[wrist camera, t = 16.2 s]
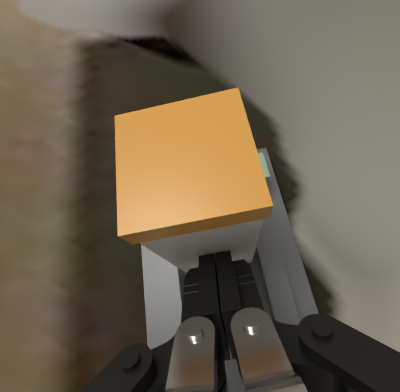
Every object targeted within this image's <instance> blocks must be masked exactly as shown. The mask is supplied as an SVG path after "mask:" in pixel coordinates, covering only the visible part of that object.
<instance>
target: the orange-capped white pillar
mask: <svg viewBox="0 0 400 392" xmlns="http://www.w3.org/2000/svg"><path fill="white" fill-rule="evenodd" d="M115 146H116V185H117V224H118V237H120V238H122V239H123V240H125V241H127V242H129V243H130V244H137V243H140V244H141V245H143V246H144V247H146V248H148V249H149V250H151V251H152V252H154V253H156V254H157V255H159V256H160V257H162V258H164V259H165V260H167V261H168V262H170V263H172V264H173V265H175V266H176V267H178V268H180V269H181V270H183V271H184V272H186V273H187V272H188V270H189V269H191V268H197V267H199V256H201V255H207V254H212V253H214V255H215V253H218V252H223V251H229V250H230V252H231V257H232V261H236V260H241V259H244V260H245V261H246V262H247V263H251V262H252V260H253V256H254V253H255V249H256V246H257V242H258V238H259V235H260V231H261V228H262V224H263V220H264V219H266V218H269V217H270V214H271V211H272V208H273V203H272V200H271V196H270V193H269V190H268V186H267V183H266V180H265V176H264V173H263V170H262V166H261V163H260V159H259V156H258V153H257V149H256V146H255V143H254V139H253V136H252V132H251V129H250V126H249V122H248V119H247V116H246V112H245V109H244V106H243V102H242V99H241V95H240V92H239V89H238V88H234V89H230V90H225V91H221V92H217V93H212V94H208V95H204V96H199V97H195V98H191V99H186V100H182V101H177V102H173V103H169V104H164V105H160V106H156V107H151V108H147V109H143V110H138V111H134V112H129V113H125V114H121V115H116V116H115ZM215 259H216V258H215Z"/></svg>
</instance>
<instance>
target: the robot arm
mask: <svg viewBox="0 0 400 392" xmlns="http://www.w3.org/2000/svg"><path fill="white" fill-rule="evenodd" d="M215 258H216V259H215ZM229 347H230V349H229ZM230 351H231V355H232V359H236V361H237V365H238V370H239V374H240V376H241V378H242V380H243V383H244V388H245V392H400V352H397V351H396V350H394V349H392V348H390V347H388V346H386V345H384V344H382V343H380V342H379V341H377V340H375V339H373V338H371V337H369V336H367V335H365V334H363V333H361V332H359V331H358V330H356V329H354V328H352V327H350V326H348V325H346V324H344V323H342V322H340V321H338V320H337V319H335V318H333V317H330V316H328V315H324V314H311V315H308V316H306V317H304V318H303V319H302V320H301V321H300V323H299V325H292V324H285V323H281V322H278V321H276V320H274V319H272V318H271V317H270V316H269V315H268V314H267V313H266V312H265V310H264V307H263V304H262V301H261V298H260V294H259V291H258V288H257V285H256V282H255V278H254V275H253V272H252V269H251V266H250V264H249V263H247V262H246V261H245V260H244V259H241V260H236V261H232V257H231V252H230V250H229V251H223V252H218V253H215V255H214V253H212V254H207V255H201V256H199V267H197V268H191V269H189V270H188V272H187V274H186V275H185V277H184V288H183V301H182V314H181V324H180V326H179V327H178V328H177V330H176V333H175V335H174V336H173V337H172V338H171V339H170V340H169V341H167V342H165V343H164V344H162V345H160V346H157V347H155V348H153V349H150V348H149V347H148V346H147V345H145V344H133V345H130V346H128V347H126V348H125V349H123V350H122V351H121V352H120V353H119V354H118V355H117V356H116V357H115V358H114V359H113V360H112V361H111V362H110V363H109V364H108V365H107V366H106V367H105V368H104V369H103V370H102V371H101V372H100V373H99V374H98V375H97V376H96V377H95V378H94V379H93V380H92V381H91V382H90V383H89V384H88V385H87V386H86V387H85V388H84V389H83V390H82V391H81V392H229V385H228V379H227V375H226V370H225V361H226V360H231V358H230Z"/></svg>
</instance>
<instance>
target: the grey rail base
mask: <svg viewBox="0 0 400 392" xmlns="http://www.w3.org/2000/svg"><path fill="white" fill-rule="evenodd" d="M257 153H258V156H259V159H260V163H261V166H262V170H263V173H264V176H265V180H266V183H267V186H268V190H269V193H270V196H271V200H272V203H273V208H272V211H271V214H270V217H269V218H266V219H264V220H263V224H262V228H261V231H260V235H259V238H258V242H257V246H256V249H255V253H254V256H253V260H252V262H251V263H249V264H250V266H251V269H252V272H253V275H254V278H255V282H256V285H257V288H258V291H259V294H260V298H261V301H262V304H263V307H264V310H265V312H266V313H267V314H268V315H269V316H270V317H271V318H272V319H274V320H276V321H278V322H281V323H285V324H292V325H299V323H300V321H301V320H302V319H303V318H304V317H306V316H308V315H311V314H319V313H318V310H317V307H316V304H315V301H314V298H313V294H312V291H311V288H310V285H309V282H308V279H307V276H306V272H305V269H304V266H303V263H302V260H301V257H300V253H299V250H298V247H297V244H296V241H295V238H294V234H293V231H292V228H291V225H290V222H289V219H288V215H287V212H286V209H285V206H284V203H283V200H282V196H281V193H280V190H279V187H278V184H277V181H276V177H275V174H274V171H273V168H272V165H271V162H270V159H269V155H268V152H267V149H266V148H263V149H259V150H257ZM141 248H142V263H143V279H144V295H145V311H146V326H147V342H148V347H149V348H150V349H153V348H155V347H157V346H160V345H162V344H164V343H165V342H167V341H169V340H170V339H171V338H172V337H173V336H174V335H175V333H176V330H177V328H178V327H179V326H180V324H181V314H182V301H183V288H184V277H185V275H186V274H187V273H186V272H184V271H183V270H181V269H180V268H178V267H176V266H175V265H173V264H172V263H170V262H168V261H167V260H165V259H164V258H162V257H160V256H159V255H157V254H156V253H154V252H152V251H151V250H149V249H148V248H146V247H144V246H143V245H141ZM229 349H230V347H229ZM230 358H231V360H226V361H225V370H226V375H227V379H228V385H229V392H245V388H244V383H243V380H242V378H241V376H240V374H239V370H238V365H237V361H236V359H232V355H231V351H230Z"/></svg>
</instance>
